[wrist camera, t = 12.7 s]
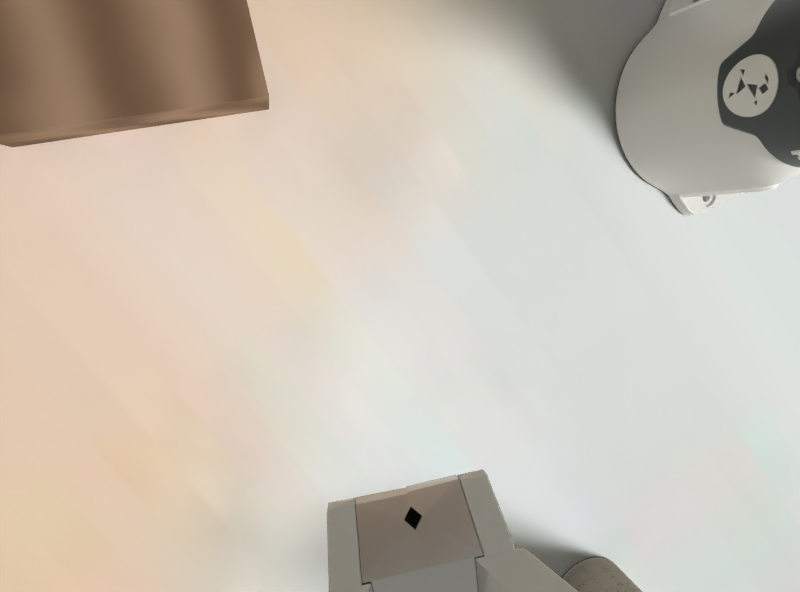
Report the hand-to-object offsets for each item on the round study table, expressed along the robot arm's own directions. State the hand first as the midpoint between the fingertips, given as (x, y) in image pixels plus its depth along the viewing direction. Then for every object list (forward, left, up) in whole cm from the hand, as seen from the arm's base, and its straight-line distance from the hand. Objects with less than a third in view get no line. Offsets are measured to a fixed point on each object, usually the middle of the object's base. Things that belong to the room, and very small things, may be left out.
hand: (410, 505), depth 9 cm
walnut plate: (+8, -18, -29) cm, 35 cm away
